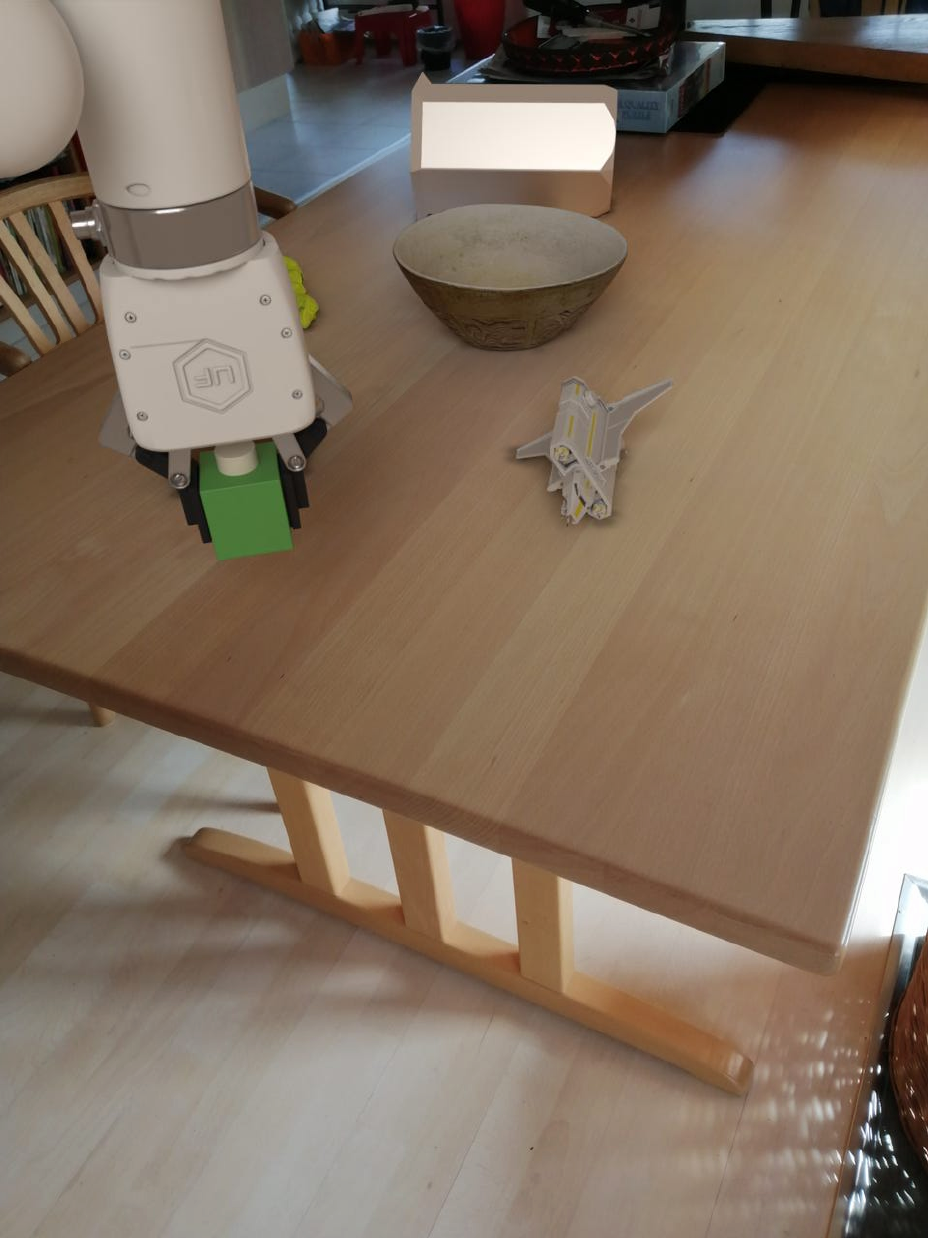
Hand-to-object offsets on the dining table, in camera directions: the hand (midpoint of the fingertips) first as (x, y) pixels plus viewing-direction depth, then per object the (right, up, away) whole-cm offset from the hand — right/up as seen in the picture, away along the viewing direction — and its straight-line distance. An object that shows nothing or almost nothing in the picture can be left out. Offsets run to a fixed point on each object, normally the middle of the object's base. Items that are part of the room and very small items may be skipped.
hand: (251, 521), depth 62 cm
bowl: (+18, +25, +46) cm, 55 cm away
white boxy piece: (+20, +49, +73) cm, 90 cm away
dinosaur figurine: (-9, +32, +57) cm, 66 cm away
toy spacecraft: (+23, +4, +21) cm, 31 cm away
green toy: (0, -1, +1) cm, 1 cm away
